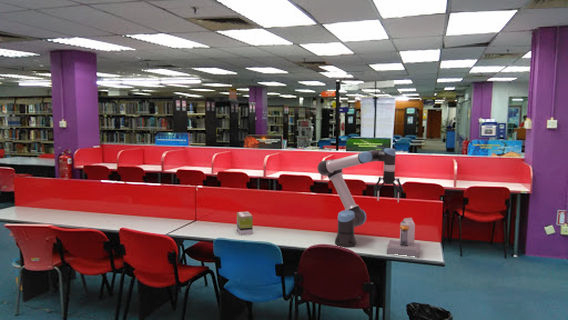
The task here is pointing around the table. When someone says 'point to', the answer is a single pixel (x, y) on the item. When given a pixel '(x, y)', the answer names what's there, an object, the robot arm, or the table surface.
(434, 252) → the table surface
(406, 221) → the milk carton
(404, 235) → the grey orange-topped cylinder
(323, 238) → the table surface
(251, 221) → the tea box
